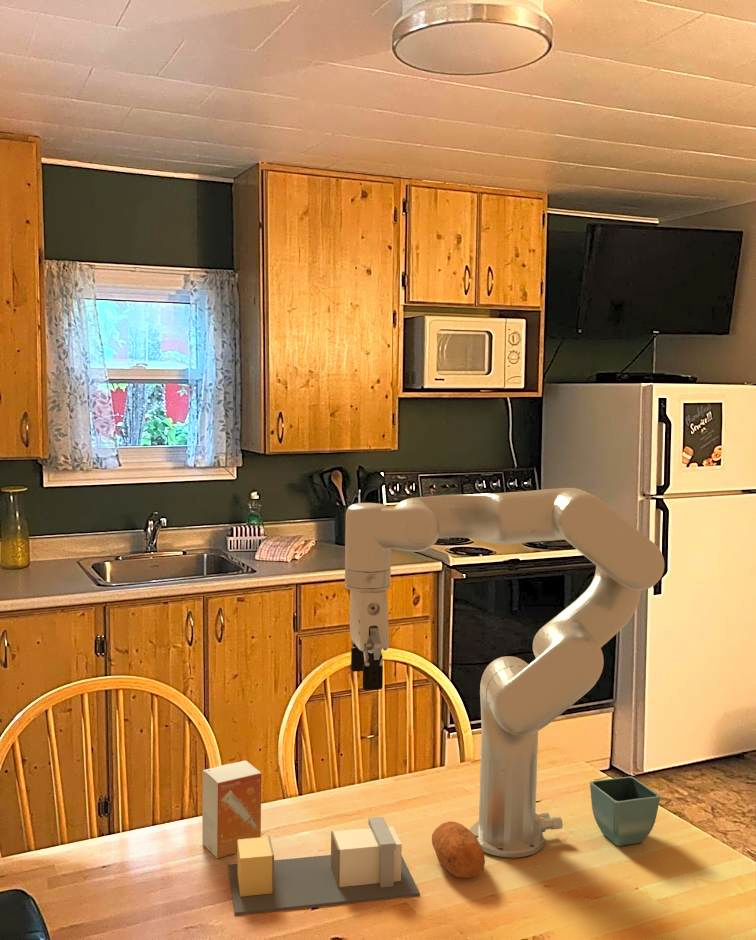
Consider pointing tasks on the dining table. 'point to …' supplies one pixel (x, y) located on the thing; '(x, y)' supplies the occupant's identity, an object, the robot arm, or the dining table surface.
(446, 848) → the potato
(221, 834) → the small box
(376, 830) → the two-tone stepped block
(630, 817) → the flower pot
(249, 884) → the stub
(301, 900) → the mat
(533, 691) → the robot arm
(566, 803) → the dining table surface
